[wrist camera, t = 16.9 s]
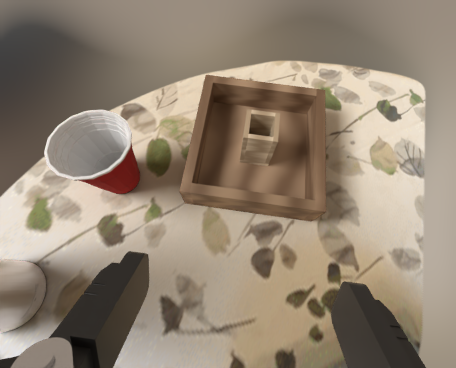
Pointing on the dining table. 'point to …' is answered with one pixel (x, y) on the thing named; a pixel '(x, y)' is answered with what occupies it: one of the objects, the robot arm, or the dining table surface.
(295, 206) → the crate
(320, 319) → the dining table surface
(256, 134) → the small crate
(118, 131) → the plastic cup
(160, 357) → the dining table surface
